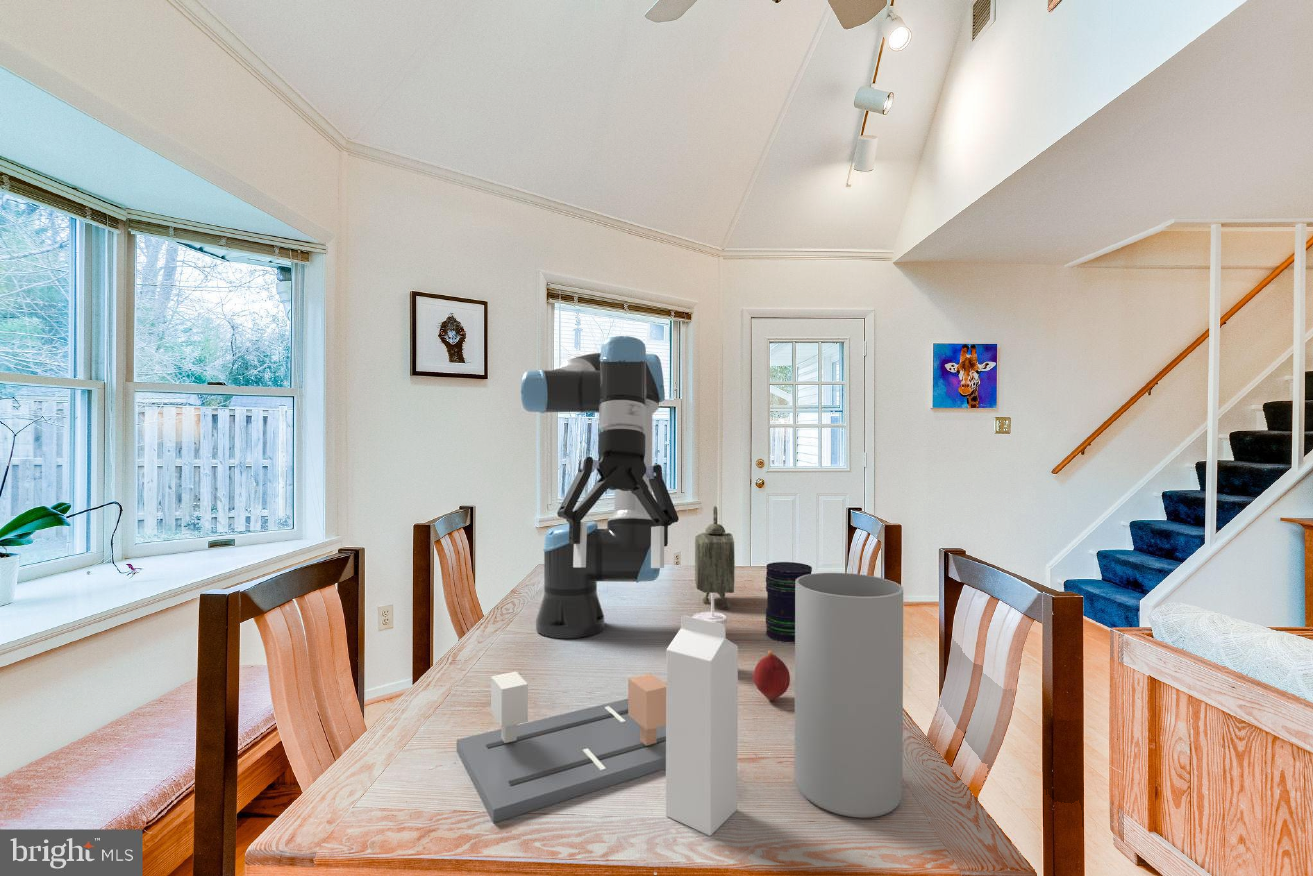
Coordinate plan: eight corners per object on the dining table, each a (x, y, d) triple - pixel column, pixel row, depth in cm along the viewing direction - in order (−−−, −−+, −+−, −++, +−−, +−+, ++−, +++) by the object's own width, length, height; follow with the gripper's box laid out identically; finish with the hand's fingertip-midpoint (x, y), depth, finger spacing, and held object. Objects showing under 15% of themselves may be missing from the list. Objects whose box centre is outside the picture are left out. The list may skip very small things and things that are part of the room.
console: (456, 750, 83) (456, 738, 83) (637, 705, 97) (637, 695, 97) (493, 823, 67) (493, 808, 67) (702, 756, 82) (702, 744, 82)
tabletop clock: (734, 611, 150) (734, 509, 150) (697, 611, 150) (698, 509, 150) (728, 596, 165) (728, 503, 165) (694, 595, 165) (695, 503, 165)
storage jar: (760, 639, 129) (761, 569, 129) (770, 626, 139) (770, 560, 139) (808, 645, 126) (809, 573, 126) (815, 631, 135) (815, 564, 135)
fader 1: (490, 734, 84) (491, 676, 84) (515, 728, 86) (516, 671, 86) (501, 750, 80) (501, 689, 80) (527, 744, 81) (527, 683, 81)
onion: (791, 695, 101) (791, 647, 101) (787, 710, 96) (787, 659, 96) (756, 690, 103) (756, 643, 103) (750, 704, 98) (750, 654, 98)
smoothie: (725, 676, 109) (725, 598, 109) (689, 673, 110) (689, 596, 110) (728, 663, 115) (728, 589, 115) (694, 661, 117) (694, 588, 117)
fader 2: (628, 737, 83) (628, 678, 83) (650, 730, 85) (650, 673, 85) (646, 753, 79) (646, 691, 79) (669, 746, 81) (669, 686, 81)
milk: (694, 792, 74) (695, 609, 74) (738, 810, 70) (739, 618, 70) (664, 817, 69) (665, 620, 69) (710, 838, 65) (711, 630, 65)
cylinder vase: (846, 834, 66) (847, 602, 66) (773, 776, 77) (774, 578, 77) (925, 802, 72) (926, 589, 72) (847, 753, 83) (848, 569, 83)
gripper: (559, 416, 88) (553, 567, 84) (698, 437, 101) (700, 568, 97) (539, 426, 94) (533, 567, 90) (673, 444, 107) (673, 568, 103)
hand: (619, 568), depth 93 cm, fingers open, 13 cm apart
